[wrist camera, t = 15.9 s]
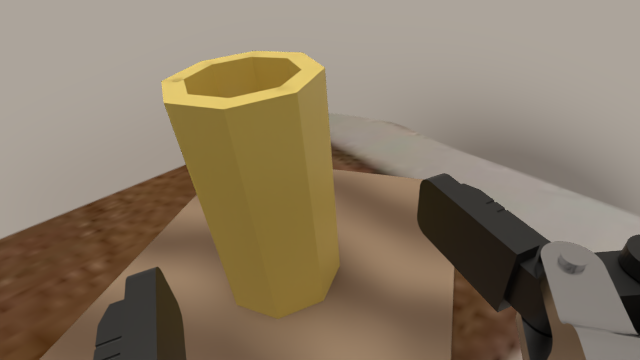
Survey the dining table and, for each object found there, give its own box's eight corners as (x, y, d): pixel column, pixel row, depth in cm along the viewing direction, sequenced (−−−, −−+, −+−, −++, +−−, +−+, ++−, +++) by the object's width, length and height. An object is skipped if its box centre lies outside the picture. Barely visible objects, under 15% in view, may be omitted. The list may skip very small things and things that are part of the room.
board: (437, 618, 10) (441, 615, 10) (10, 419, 16) (-6, 407, 15) (454, 196, 25) (456, 183, 25) (234, 169, 31) (231, 157, 30)
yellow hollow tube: (318, 329, 17) (284, 112, 10) (208, 301, 18) (122, 103, 12) (348, 239, 21) (339, 51, 15) (258, 224, 23) (215, 50, 17)
